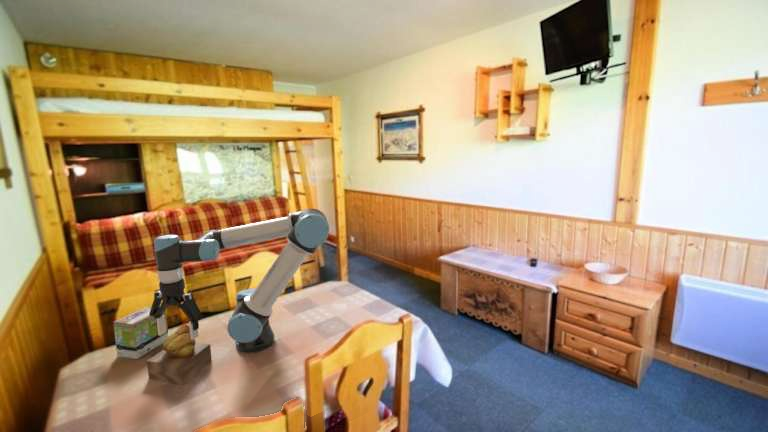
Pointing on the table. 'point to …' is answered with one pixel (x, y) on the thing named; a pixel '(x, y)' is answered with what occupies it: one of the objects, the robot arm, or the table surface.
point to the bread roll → (180, 342)
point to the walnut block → (178, 365)
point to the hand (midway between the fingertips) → (178, 335)
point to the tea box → (137, 334)
